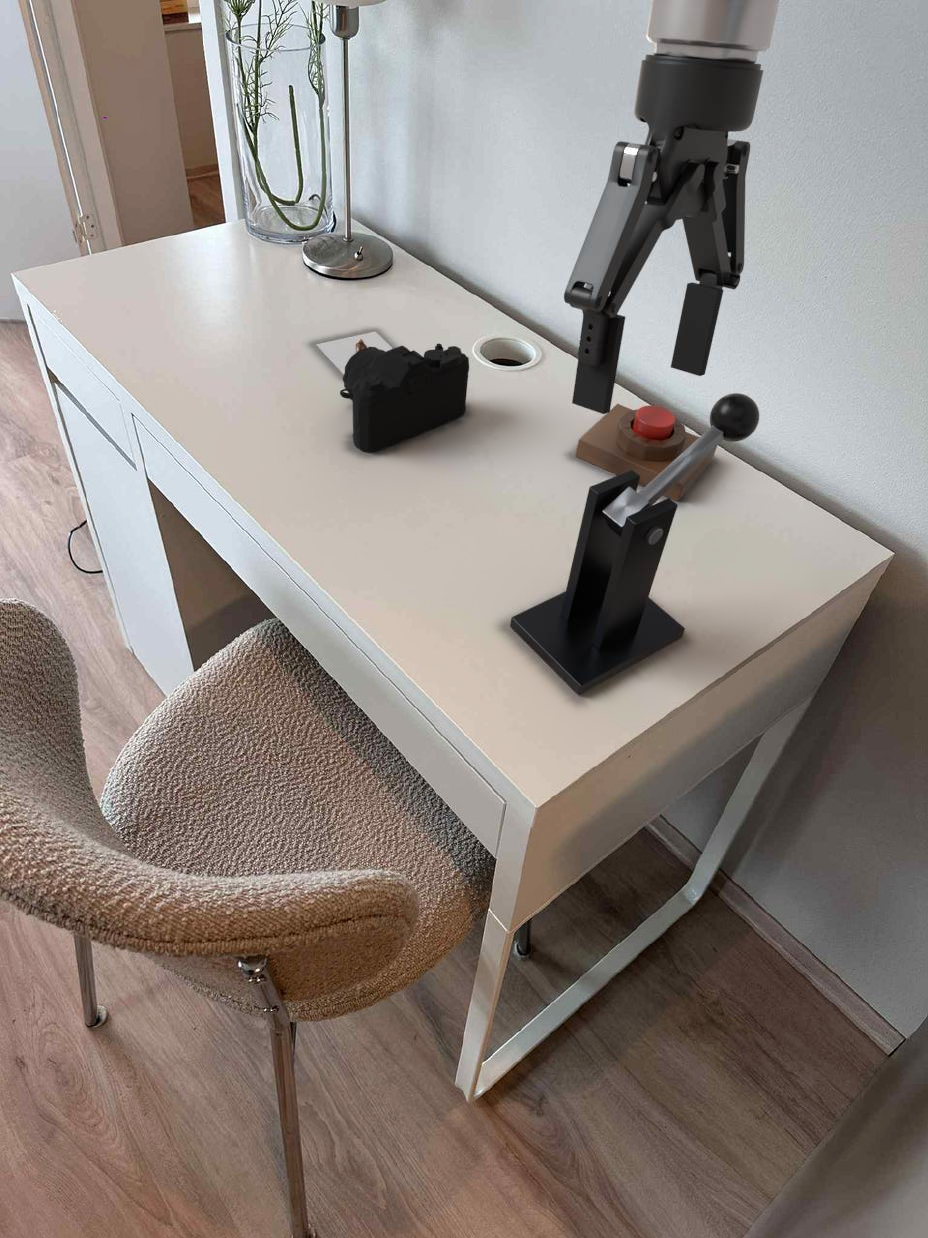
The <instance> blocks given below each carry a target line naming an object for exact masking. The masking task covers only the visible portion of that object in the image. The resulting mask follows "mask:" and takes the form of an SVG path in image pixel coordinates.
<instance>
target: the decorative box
mask: <svg viewBox="0 0 928 1238" xmlns="http://www.w3.org/2000/svg"><path fill="white" fill-rule="evenodd" d="M315 345H316V347H317V348H318V349H319V350H320V351H321V352H322V353H323V355H325V356H326V357H327V358H328V359H329V361H331V363H332V364H333V365H334V366H335V368H337V369H338V370H339V371H340V373H341V374H342V375H343V376H344V373H345V366H346V364H347V362H348V361H349V359H350V358H351V357H352V356H353V355H354V354H356V353H357V352H358V351H359V350H361V349H363V348H368V347H376V348H377V349H380V350H384V351H385V352H386V351H389V350H391V349H394V348H393V347H392V346H391V345H390V344H389V343H388V342H387V341H386V340H385V339H384V338H383V337H382V336H381V335H380V334H379V333H378V332H377V331H372V332H371V331H370V332H367V333H363V334H358V335H354V336H349V337H345V338H340V339H335V340H330V341H325V342H321V343H317V344H315Z"/></svg>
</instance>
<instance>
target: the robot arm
mask: <svg viewBox="0 0 928 1238" xmlns="http://www.w3.org/2000/svg"><path fill="white" fill-rule="evenodd" d="M779 3H780V0H651V3H650V9H649V16H648V22H647V29H646V34H645V38H646V39H647V41H648V42H649V43H651V44H652V43H653V44H654V46H653V52H652V53H653V54H645V57H644V59H641V61H640V62H641V63H640V69H639V74H638V81H637V87H636V94H635V102H634V108H633V114H634V117H635V118H636V120H638V121H639V122H642V123H646V124H647V127H648V132H647V136H646V139H645V142H644V144H643V143H635V142H630V141H622V140H620V141H617V142H616V144H615V146H614V148H613V150H612V156H611V163H610V166H609V170H608V171H609V172H608V177H607V181H606V183H605V187H604V189H603V192H602V195H601V197H600V199H599V201H598V204H597V207H596V209H595V212H594V214H593V217H592V220H591V223H590V225H589V227H588V230H587V233H586V234H585V235H586V236H585V238H584V241H583V243H582V246H581V248H580V251H579V253H578V256H577V258H576V260H575V261H576V262H575V264H574V266H573V269H572V272H571V274H570V276H569V279H568V282H567V284H566V287H565V290H564V293H563V300H564V302H565V304H567V305H568V304H569V306H570V307H571V308H574V309H577V310H580V311H582V322H581V323H582V324H581V330H580V335H579V336H580V337H579V338H580V339H579V343H578V352H577V358H578V359H577V364H576V373H575V379H574V387H573V393H572V402H571V404H573V405H576V406H578V407H582V408H584V409H587V410H590V411H593V412H596V413H599V414H602V415H606V414H607V413H608V412H610V410H611V408H612V407H611V406H612V401H613V394H614V389H615V383H616V378H617V377H616V376H617V371H618V365H619V359H620V353H621V346H622V341H623V334H624V329H625V322H626V316H625V315H621V314H618V313H619V311H620V309H621V308H622V306H623V304H624V303H625V301H626V299H627V297H628V295H629V293H630V292H631V289H632V288H633V286H634V285H635V283H636V280H637V279H638V278H639V275H640V273H641V271H642V270H643V268H644V267H645V264H646V262H647V260H648V259H649V257H650V255H651V253H652V252H653V250H654V248H655V246H656V244H657V243H658V241H659V239H660V238H661V235H662V234H663V232H665V231H666V230H670V229H671V228H672V227H673V226H674V225H675V224H676V222H677V221H679V220H682V224H683V228H684V235H685V238H686V243H687V247H688V251H689V257H690V260H691V261H690V262H691V265H692V271H693V276H694V280H695V281H697V282H699V283H697V282H693V281H692V282H688V283H687V284H686V289H685V293H684V299H683V303H682V308H681V313H680V318H679V322H678V328H677V333H676V337H675V338H676V339H675V343H674V348H673V353H672V359H671V364H670V368H671V369H675V370H678V371H681V372H684V373H688V374H690V375H691V374H692V375H695V376H698V377H702V376H705V375H706V371H707V366H708V362H709V357H710V353H711V348H712V343H713V339H714V334H715V330H716V325H717V321H718V317H719V312H720V308H721V304H722V298H723V295H724V289H723V288H726V289H731V290H736V289H737V288H738V286H739V284H740V282H741V274H742V273H743V270H744V267H745V240H746V239H745V238H746V237H745V236H746V232H745V231H746V176H747V171H748V164H749V158H750V153H751V143H750V141H744V140H737V139H731V138H729V133H730V132H743V131H746V130H748V129H749V128H750V127H751V125H752V123H753V120H754V117H755V111H756V107H757V103H758V97H759V93H760V89H761V83H762V81H763V80H762V79H763V76H764V71H765V70H763V69H762V64H761V63H757V61H758V60H757V59H758V56H759V53H761V52H762V53H765V52H766V51H767V50H768V49H769V48H770V46H771V41H772V37H773V32H774V27H775V22H776V19H777V13H778V7H779ZM729 254H730V255H729Z"/></svg>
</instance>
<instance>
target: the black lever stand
mask: <svg viewBox="0 0 928 1238" xmlns="http://www.w3.org/2000/svg"><path fill="white" fill-rule="evenodd" d="M639 480H640V475H638V474H637V473H636V472H634V471H633V470H629V471H627V472H625V473H622V474H620V475H617V474H616V475H615V476H612V477H610V478H607V479H605V480H603V481H601V482H598V483H596V484H594V485H591V486H588V487H589V488H588V491H587V496H586V501H585V504H584V509H583V514H582V518H581V521H580V527H579V531H578V536H577V541H576V546H575V548H574V549H575V550H574V553H573V558H572V563H571V567H570V572H569V576H568V580H567V585H566V589H565V591H563V592H561V593H559V594H556V595H555V596H553V597H551V598H549V599H547V600H545V601H542V602H540V603H538V604H536V605H534V606H532V607H529V608H528V609H526V610H524V611H522V612H520V613H517V614H515V615H512V616H511V619H510V624H509V627H510V628H511V629H512V630H513V632H515V633H516V634H517V635H518V636H519V638H520V639H522V640H523V641H524V643H525V644H527V645H528V646H529V648H530V649H531V650H533V651H534V652H535V654H536V655H537V656H538V657H539V658H540V659H542V660H543V662H544V663H545V664H547V665H548V667H549V668H550V669H551V670H552V671H553V672H554V673H555V674H556V675H557V676H559V678H560V679H561V680H562V681H563V682H564V683H565V684H566V685H567V686H568V687H569V688H570V689H571V690H572V691H573V692H574V693H575V694H576V695H577V696H580V695H582V694H584V693H585V692H587V691H590V690H591V689H593V688H595V687H597V686H598V685H600V684H602V683H603V682H606V681H607V680H609V679H611V678H613V677H615V676H616V675H618V674H620V673H622V672H623V671H625V670H627V669H629V668H630V667H632V666H634V665H636V664H638V663H640V662H641V661H643V660H645V659H646V658H649V657H650V656H652V655H654V654H655V653H658V652H659V651H661V650H663V649H665V648H666V647H668V646H670V645H672V644H674V643H675V642H677V641H679V640H681V639H682V638H683V637H684V633H685V631H686V628H685V627H684V626H683V625H682V624H680V622H678V621H677V620H676V619H675V618H673V617H672V616H671V615H670V614H669V613H668V612H667V611H666V610H665V609H663V608H662V607H661V606H660V605H659V604H657V603H656V602H655V601H654V600H653V599H652V598H650V597H649V596H650V593H651V590H652V587H653V584H654V581H655V577H656V574H657V571H658V569H659V566H660V563H661V559H662V556H663V553H664V550H665V546H666V545H667V540H668V537H669V535H670V531H671V528H672V524H673V522H674V518H675V516H676V512H677V509H678V504H677V503H676V501H674V500H673V499H671V498H669V497H666V498H665V499H663V500H661V501H658V502H655V503H654V504H653V505H652V506H650V507H647V508H645V509H643V510H641V511H639V512H636V513H634V514H632V515H630V516H627V517H626V520H625V524H624V527H623V531H622V535H621V537H620V536H619V535H617V534H616V533H615V532H614V531H613V530H611V529H610V528H609V527H608V525H607V522H606V520H605V517H604V514H603V512H602V511H603V510H604V509H605V508H606V507H607V506H608V505H609V504H610V503H612V502H613V501H614V500H615V499H616V498H617V497H618V496H619V495H620V494H621V493H622V492H624V491H625V490H626V489H627V488H628V487H631V488H632V489H633V490H635V491H636V492H638V491H637V490H638V486H639V484H638V483H639Z"/></svg>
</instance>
